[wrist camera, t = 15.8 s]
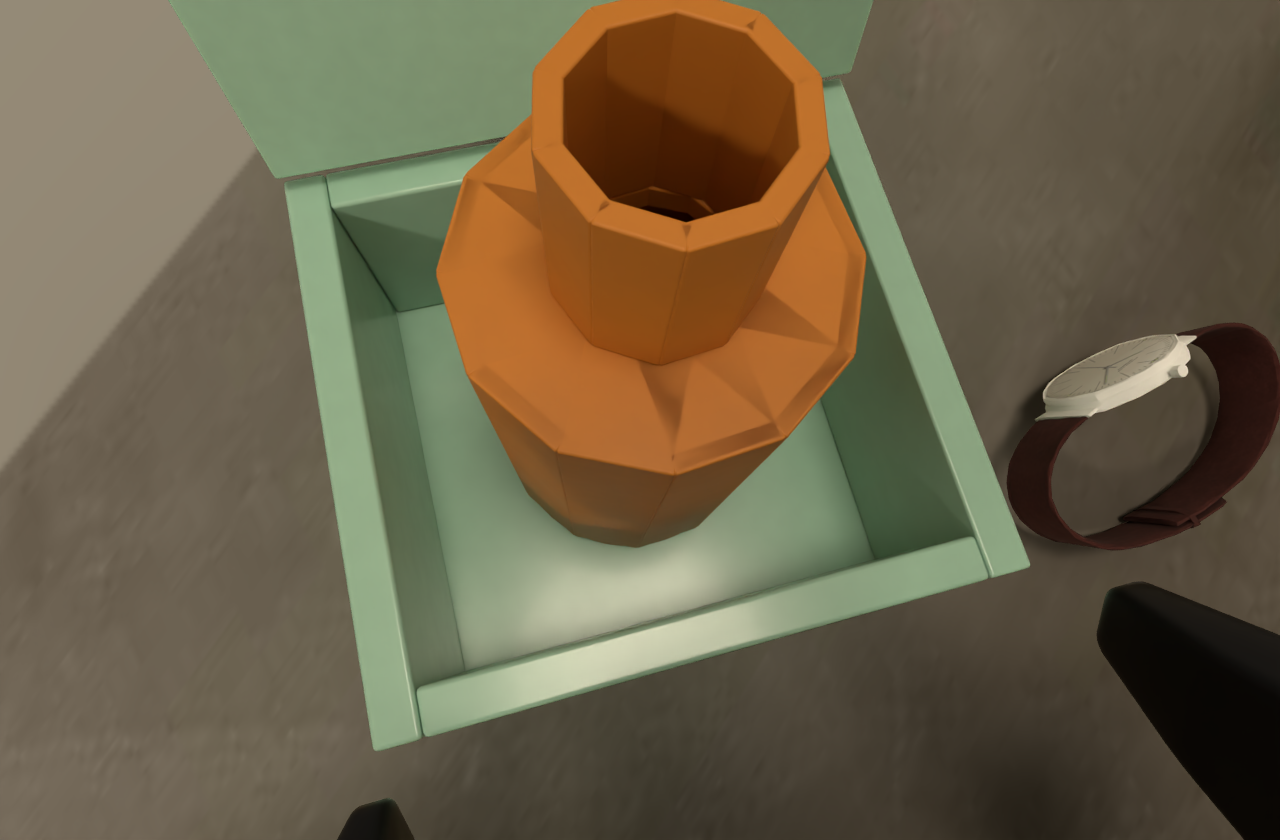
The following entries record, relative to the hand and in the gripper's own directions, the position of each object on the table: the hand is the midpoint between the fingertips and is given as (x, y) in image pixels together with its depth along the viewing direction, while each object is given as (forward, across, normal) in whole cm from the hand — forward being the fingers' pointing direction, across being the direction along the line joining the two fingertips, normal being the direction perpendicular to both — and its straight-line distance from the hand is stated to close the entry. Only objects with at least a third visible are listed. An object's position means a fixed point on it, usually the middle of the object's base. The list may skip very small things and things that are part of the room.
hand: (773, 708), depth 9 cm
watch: (+8, -13, +5) cm, 16 cm away
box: (+11, 0, +2) cm, 11 cm away
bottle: (+10, 0, +2) cm, 10 cm away
